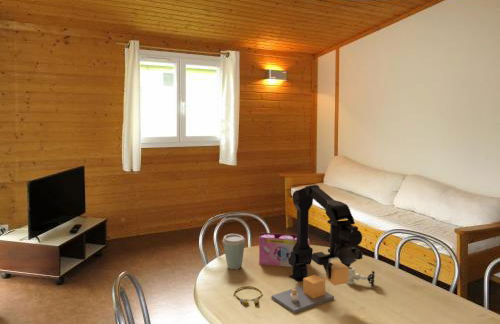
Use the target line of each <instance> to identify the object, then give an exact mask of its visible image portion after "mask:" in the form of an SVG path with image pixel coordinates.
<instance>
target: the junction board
mask: <svg viewBox="0 0 500 324" xmlns="http://www.w3.org/2000/svg"><path fill="white" fill-rule="evenodd" d="M308 276H309V277H306V278H303V280H302V281H303V283H302V285H300V286H297V287H294V288H291V289H287V290H285V291H281V292H278V293H275V294H273V295H272V294H271V295H270V296H271V298H270V299H272V300H273V301H274V302H276V303H278V304H279V305H281V307H284V308H285V309H286V310H288V311H289V312H291V313H293V314H296V313H299V312H302V311H305V310H307V309H311V308H313V307H316V306H319V305H321V304H324V303H327V302H329V301H332V300H334V299H335V296H334V295H333V294H331V293H329V292H327V291H326V279H324V278H321V277H320V276H318V275H316V274H313V275H308Z"/></svg>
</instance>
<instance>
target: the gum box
mask: <svg viewBox="0 0 500 324" xmlns="http://www.w3.org/2000/svg"><path fill="white" fill-rule="evenodd" d="M296 242H297V234H290V233H273V232H272V233H271V232H261V234H260V235H259V236H258V245H259V246H258V252H259V253H258V254H259V256H258V257H259V258H258V259H259V261H258V264H259V265H266V266H278V267H291V268H292V266H291V265H290V264H289V261H288V258H289V257H290V256H291V255H292V252H293V247H294V246H295V244H296ZM310 243H311V242H310V237H309V236H308V244H309V245H310Z"/></svg>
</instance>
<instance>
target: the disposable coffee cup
mask: <svg viewBox="0 0 500 324" xmlns="http://www.w3.org/2000/svg"><path fill="white" fill-rule="evenodd" d="M222 243H223V248H224V249H223V250H224V255H225V259H226V265H227V267H228V269H229V268H230V269H229V270H232V269H236V270H239V268H240V267H241V268H242V265H243V260H244V259H243V258H244V252H245V244H246V239H245V237H244V236H243V235H241V234H238V233H229V234H226V235H224V236H223V239H222ZM241 268H240V269H241Z"/></svg>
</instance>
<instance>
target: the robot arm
mask: <svg viewBox="0 0 500 324" xmlns="http://www.w3.org/2000/svg"><path fill="white" fill-rule="evenodd" d="M314 201H315V202H316V203H317V204H318V205H320V206H321V207H322V208H323V209H324V210H325V215H326V216H327V217H328V220H327V224H329V227H330V228H329V230H330V231H329V232H330V233H329V238H327V242H329V248H327V253H328V254H326V253H324V252H323V251H319V252H313V251H314V249H313V247H311V246H310V243H309V244H308V237H309V214H310V213H309V211H310V209H311V208H312V206H313V204H314V203H313V202H314ZM292 203H293V205H294V207H295V209H296V235H297V242H296V244H295V246H294V247H293V252H292V255H291V256H290V257H289V258H288V261H289V264H290V265H291V266H292V267H291V268H292V270H291V271H292V273H291V274H290V275H289V278H291V279H292V280H296V281H297V282H301V281H303V278H306V277H309V276H310V275H308V265H311V264H312V261H313V262H314V263H316V264H317V265H319V266H323V270H324V271H325V275H326V274H327V276H328V279H331V266H332V265H333V264H332V263H333V262H331V261H332V260H334V259H339V262H341V263H342V264H344V265H346V266H347V267H351V265H352V264H353V263H354V262H357V260H362V259H363V257H364V256H363V254H364V253H363V251H361V249H359V248H358V247H357V246H359V245H360V244H361V242H362V240H363V234H362V232H361V231H360V230H359V227H358V226H356V225H355V224H356V223H355V219H354V217H353V215H352V212H351V210H350V207H349V205H348V204H346V203H344V202H343V201H339V200H335V199H334V198H332V197H331V196H330V195H329V194H327V192H326V191H324V190H323V189H321V187H320V186H319V185H318V184H309V185H307V186H305V187H303V188H300V189H297V190H294V192H293V193H292ZM349 245H350V246H352V247H349Z"/></svg>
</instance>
